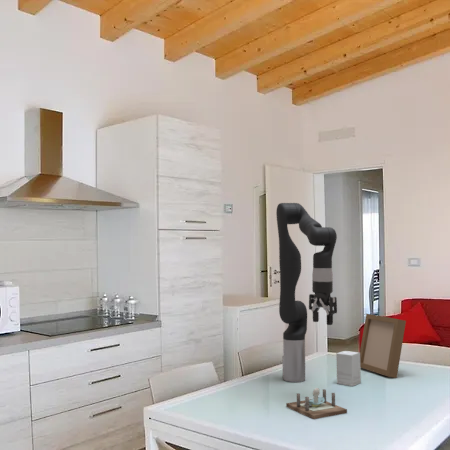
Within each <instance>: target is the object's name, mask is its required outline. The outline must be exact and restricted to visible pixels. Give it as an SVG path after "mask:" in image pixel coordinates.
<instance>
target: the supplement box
mask: <svg viewBox="0 0 450 450" xmlns="http://www.w3.org/2000/svg"><path fill="white" fill-rule="evenodd" d="M335 356H336V384H337V385H344V386H349V387H354V386H357V385H359V384H361V383H362V380H361V379H362V377H361V373H362V372H361V368H360V352H357V351H349V350H343V351H339V352H337V353H336V354H335Z"/></svg>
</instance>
